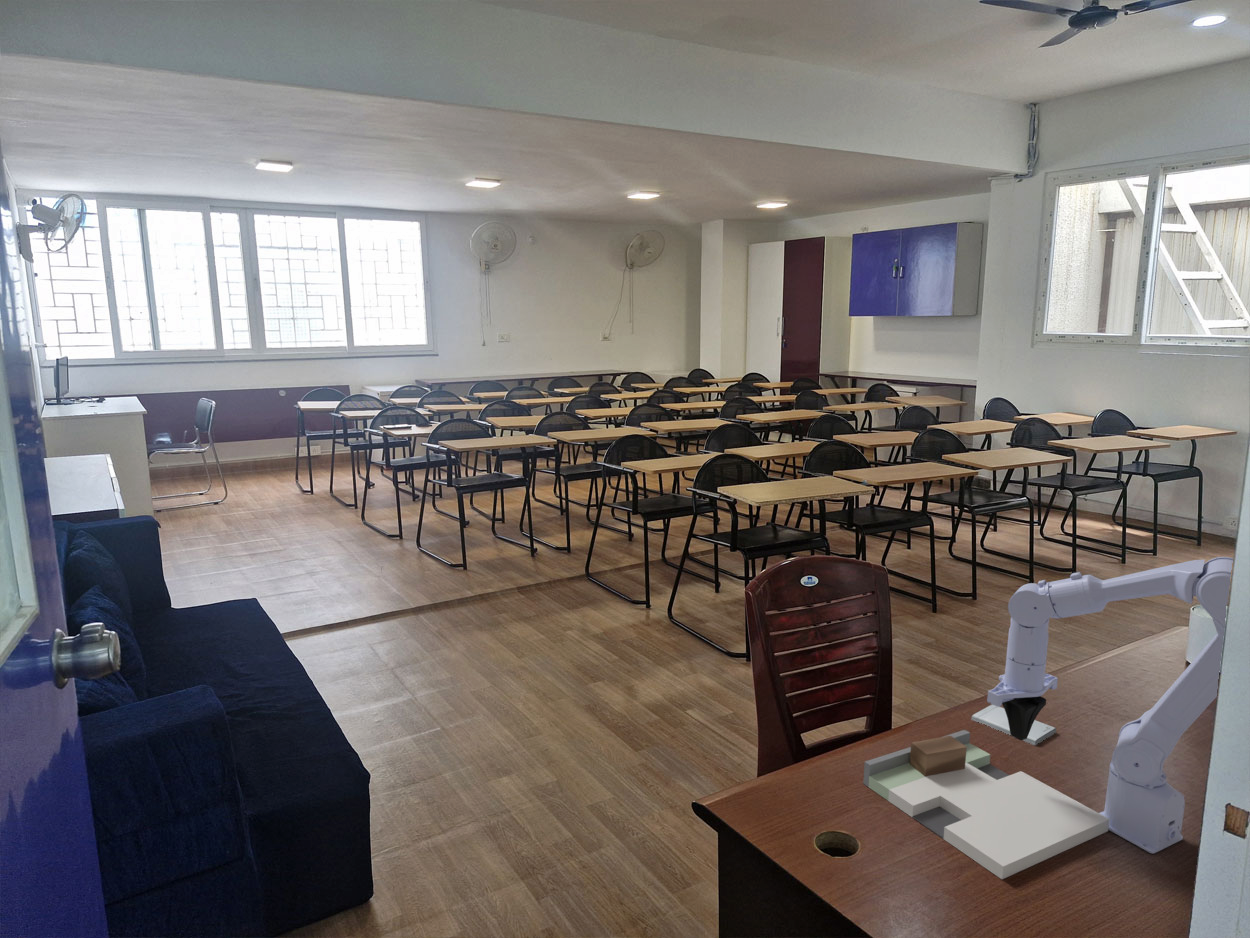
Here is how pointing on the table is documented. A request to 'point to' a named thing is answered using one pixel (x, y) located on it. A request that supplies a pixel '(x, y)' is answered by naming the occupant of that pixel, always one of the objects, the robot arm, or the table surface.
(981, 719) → the hard drive
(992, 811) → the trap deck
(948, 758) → the walnut bar
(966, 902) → the table surface
